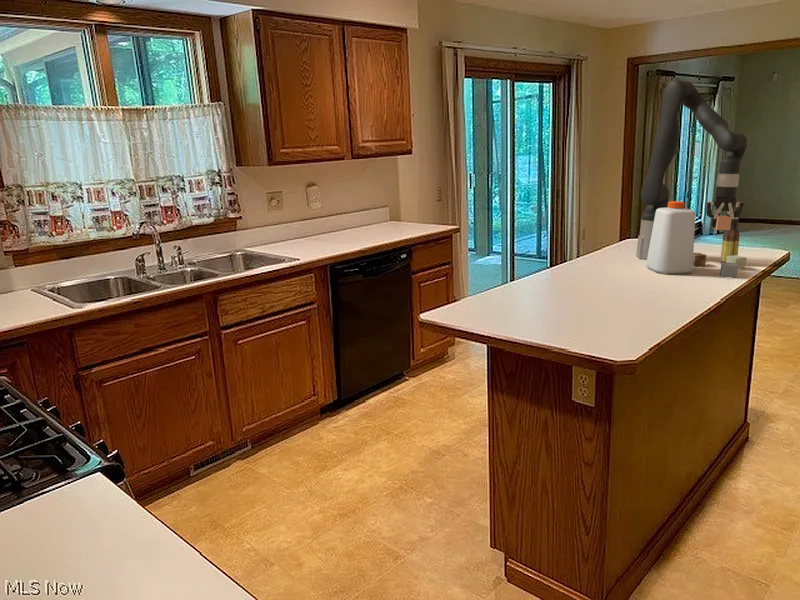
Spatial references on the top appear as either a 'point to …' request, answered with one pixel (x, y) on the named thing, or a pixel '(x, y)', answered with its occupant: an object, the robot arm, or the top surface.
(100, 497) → the top surface
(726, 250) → the sauce bottle
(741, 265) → the sage cube
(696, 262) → the walnut cube
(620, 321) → the top surface
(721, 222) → the terracotta cube
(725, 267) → the slate cube
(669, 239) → the plastic bottle
